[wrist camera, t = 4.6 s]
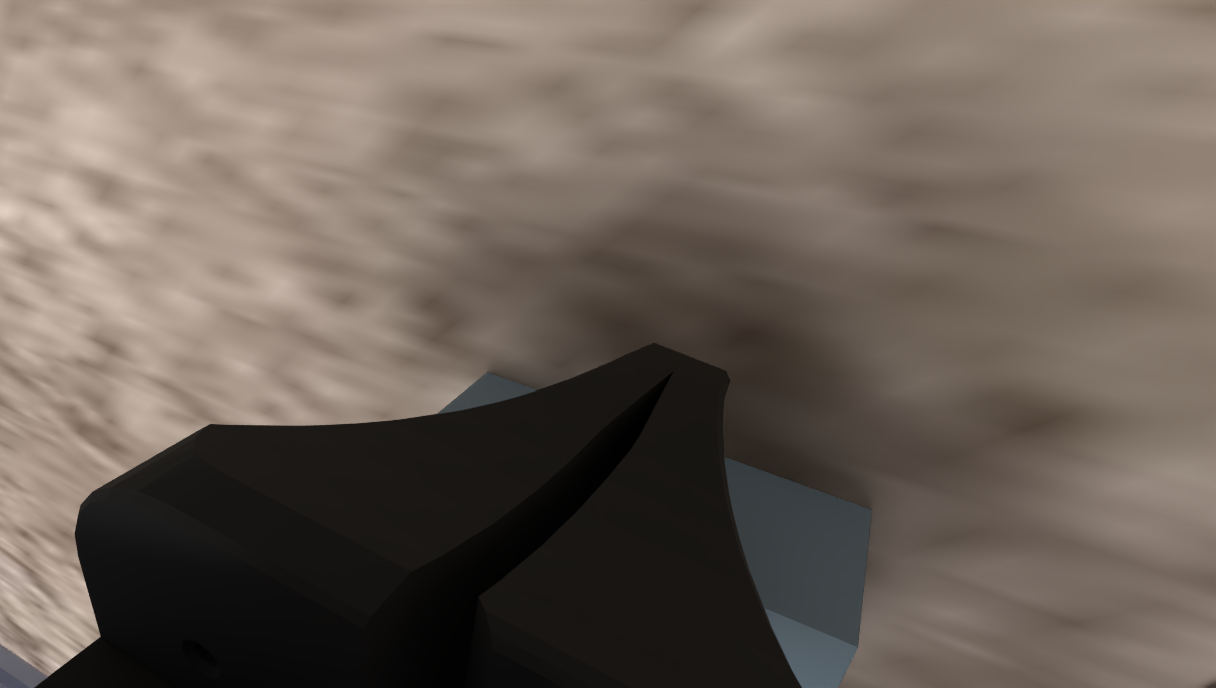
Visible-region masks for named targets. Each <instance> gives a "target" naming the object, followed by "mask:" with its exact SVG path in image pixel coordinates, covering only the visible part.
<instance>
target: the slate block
mask: <svg viewBox="0 0 1216 688" xmlns="http://www.w3.org/2000/svg"><path fill="white" fill-rule="evenodd" d="M534 391H537V390H536V389H533V388H531V387H528V386H525V385H522V384H519V383H517V382H514V381H511V380H508V379H506V378H503V377H500V376H497V375H494V374H492V373H489V372H487V373H486V374H485V375H483V376H482V377H481V378H480V379H479V380H477V381H476V382H475V383H474V384H473V385H471V386H470V387H469V388H468V389H467V390H465V391H464V392H463V393H462V394H461V395H459V396H458V397H457V398H456V399H454V400H453V401H452V402H451V403H450V404H448V405H447V406H446V407H445V408H444V409H442V410H441V411H440V412H439V413H438V414H441V413H447V412H454V411H460V410H465V409H470V408H474V407H478V406H483V405H487V404H491V403H496V402H500V401H504V400H507V399H511V398H515V397H518V396H522V395H525V394H528V393H531V392H534ZM724 459H725V468H726V475H727V482H728V489H729V494H730V500H731V505H732V510H733V514H734V518H735V522H736V526H737V530H738V534H739V538H740V541H741V545H742V548H743V551H744V554H745V558H746V561H747V564H748V567H749V570H750V573H751V576H752V578H753V581H754V583H755V586H756V588H757V591H758V593H759V596H760V599H761V601H762V604H763V606H764V609H765V611H766V614H767V616H768V619H769V621H770V624H771V627H772V629H773V631H774V633H775V635H776V637H777V639H778V641H779V644H780V646H781V648H782V650H783V652H784V654H785V656H786V658H787V660H788V663H789V665H790V667H791V669H792V671H793V673H794V675H795V676H796V678H797V680H798V682H799V683H800V685H801V687H802V688H838V687H839V685H840V683H841V681H842V679H843V677H844V675H845V673H846V670H847V668H848V666H849V664H850V662H851V660H852V658H853V656H854V654H855V652H856V650H857V648H858V641H859V631H860V621H861V611H862V602H863V592H864V582H865V572H866V562H867V552H868V543H869V533H870V523H871V513H872V510H871V509H869V508H866V507H863V506H860V505H857V504H855V503H852V502H849V501H846V500H843V499H841V498H838V497H835V496H832V495H829V494H827V493H824V492H821V491H818V490H816V489H813V488H810V487H807V486H804V485H802V484H799V483H796V482H793V481H790V480H788V479H785V478H782V477H779V476H776V475H774V474H771V473H768V472H765V471H762V470H760V469H757V468H754V467H751V466H749V465H746V464H743V463H740V462H737V461H735V460H732V459H729V458H726V457H724Z"/></svg>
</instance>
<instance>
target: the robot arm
mask: <svg viewBox="0 0 1216 688" xmlns="http://www.w3.org/2000/svg"><path fill="white" fill-rule="evenodd" d="M729 383H730V378H729V376H728V374H727V372H726V371H725V370H722V369H720V368H717V367H715V366H712V365H709V364H707V363H704V362H702V361H699V360H696V359H694V358H691V357H689V356H686V355H684V354H681V353H678V352H676V351H673V350H671V349H668V348H666V347H663V346H660V345H658V344H655V343H653V344H650V345H648V346H645V347H643V348H641V349H638V350H636V351H634V352H631V353H629V354H627V355H625V356H623V357H620V358H618V359H616V360H614V361H611V362H609V363H607V364H605V365H602V366H600V367H598V368H595V369H593V370H591V371H588V372H586V373H583V374H581V375H578V376H576V377H574V378H571V379H569V380H566V381H563V382H560V383H557V384H554V385H551V386H548V387H546V388H543V389H540V390H537V391H534V392H531V393H528V394H525V395H522V396H518V397H515V398H511V399H507V400H504V401H500V402H496V403H491V404H487V405H483V406H478V407H474V408H470V409H465V410H460V411H454V412H447V413H441V414H434V415H427V416H421V417H414V418H407V419H400V420H392V421H381V422H369V423H357V424H338V425H314V426H270V425H218V424H210V425H208V426H206V427H204V428H202V429H200V430H199V431H197V432H195V433H193V434H192V435H190V436H188V437H186V438H185V439H183V440H181V441H179V442H178V443H176V444H174V445H173V446H171V447H169V448H167V449H166V450H164V451H162V452H160V453H159V454H157V455H155V456H154V457H152V458H150V459H148V460H147V461H145V462H143V463H141V464H140V465H138V466H136V467H135V468H133V469H131V470H129V471H128V472H126V473H124V474H122V475H121V476H119V477H117V478H116V479H114V480H112V481H110V482H109V483H107V484H105V485H103V486H102V487H100V488H98V489H97V490H95V491H93V492H92V493H91V494H90V495H89V496H88V497H87V498H86V500H85V501H84V502H83V503H82V504H81V506H80V510H79V514H78V519H77V524H76V530H75V539H76V545H77V551H78V557H79V561H80V564H81V568H82V571H83V575H84V578H85V582H86V585H87V589H88V593H89V596H90V600H91V603H92V607H93V610H94V614H95V617H96V621H97V624H98V628H99V632H100V635H101V637H100V638H99V639H97V640H96V641H95V642H93V643H92V644H91V645H89V646H88V647H87V648H85V649H84V650H83V651H81V652H80V653H79V654H77V655H76V656H75V657H74V658H72V659H71V660H70V661H68V662H67V663H66V664H64V665H63V666H62V667H60V668H59V669H58V670H56V671H55V672H54V673H53V674H51V675H50V676H49V677H48V676H47V675H45V674H44V673H42V672H41V671H39V670H38V669H36V668H35V667H33V666H32V665H31V664H29V663H28V662H26V661H25V660H23V659H22V658H20V657H19V656H17V655H16V654H14V653H13V652H11V651H10V650H8V649H7V648H5V647H4V646H2V645H1V644H0V688H802V687H801V685H800V683H799V682H798V680H797V678H796V676H795V675H794V673H793V671H792V669H791V667H790V665H789V663H788V660H787V658H786V656H785V654H784V652H783V650H782V648H781V646H780V644H779V641H778V639H777V637H776V635H775V633H774V631H773V629H772V627H771V624H770V621H769V619H768V616H767V614H766V611H765V609H764V606H763V604H762V601H761V599H760V596H759V593H758V591H757V588H756V586H755V583H754V581H753V578H752V576H751V573H750V570H749V567H748V564H747V561H746V558H745V554H744V551H743V548H742V545H741V541H740V538H739V534H738V530H737V526H736V522H735V518H734V514H733V510H732V505H731V500H730V494H729V489H728V482H727V475H726V468H725V459H724V444H723V407H724V398H725V394H726V391H727V388H728V385H729Z"/></svg>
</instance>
